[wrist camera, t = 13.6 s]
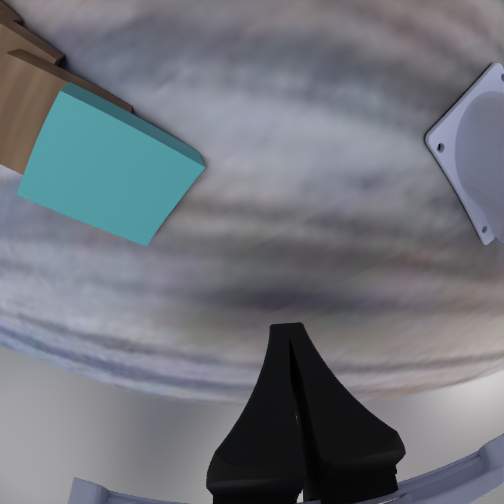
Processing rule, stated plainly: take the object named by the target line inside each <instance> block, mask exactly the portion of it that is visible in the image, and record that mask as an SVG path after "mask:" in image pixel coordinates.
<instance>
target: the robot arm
mask: <svg viewBox="0 0 504 504" xmlns="http://www.w3.org/2000/svg"><path fill="white" fill-rule="evenodd" d="M501 75H502V79H501ZM425 139H426V144H427V146H428V147H429V149H430V150H431V152H432V153H433V155H434V156H435V158H436V159H437V161H438V163H439V164H440V166H441V167H442V169H443V171H444V172H445V174H446V176H447V177H448V179H449V181H450V182H451V184H452V186H453V187H454V189H455V191H456V193H457V194H458V196H459V198H460V200H461V202H462V204H463V205H464V207H465V209H466V211H467V213H468V215H469V217H470V219H471V221H472V223H473V225H474V227H475V229H476V231H477V233H478V235H479V238H480V240H481V242H482V243H483V244H484V245H488V244H489V243H490V242H491V241H492V240H493V239H494V238H495V237H496V238H497V239H498V240H499V241H500V242H501V243H502V244H504V68H503V66H502V65H501V64H500V63H492V65H491V66H490V67H489V68H488V69H487V70H486V71H485V72H484V73H483V75H482V76H481V77H480V78H479V79H478V80H477V81H476V82H475V83H474V84H473V86H472V87H471V88H470V89H469V90H468V91H467V92H466V93H465V94H464V95H463V96H462V97H461V98H460V100H459V101H458V102H457V103H456V104H455V105H454V106H453V107H452V108H451V109H450V110H449V111H448V112H447V113H446V114H445V115H444V116H443V117H442V118H441V120H440V121H439V122H438V123H437V124H436V125H435V126H434V127H433V128H432V129H431V130H430V131H429V132H428V133H427V135H426V138H425ZM438 144H440V145H441V148H440V150H437V146H438ZM295 411H296V412H295ZM296 416H297V418H296ZM405 454H406V452H405V447H404V444H403V442H402V440H401V438H400V436H399V434H398V432H397V431H395V430H394V429H392V428H391V427H389V426H388V425H387V424H385V423H384V422H382V421H381V420H380V419H378V418H377V417H376V416H375V415H373V414H372V413H371V412H369V410H367V409H366V408H365V407H364V406H363V405H362V404H361V403H360V402H359V401H357V400H356V399H355V398H354V397H353V396H352V395H351V394H350V393H349V392H348V391H347V389H346V388H345V387H344V386H343V385H342V384H341V383H340V382H339V380H338V379H337V378H336V377H335V375H334V374H333V373H332V372H331V370H330V369H329V368H328V366H327V365H326V363H325V362H324V361H323V359H322V358H321V356H320V354H319V353H318V351H317V350H316V348H315V347H314V345H313V343H312V341H311V340H310V338H309V336H308V334H307V332H306V330H305V328H304V325H303V324H302V323H301V322H298V323H285V324H272V325H271V326H270V335H269V343H268V348H267V352H266V356H265V360H264V363H263V367H262V369H261V372H260V375H259V378H258V381H257V383H256V386H255V388H254V390H253V392H252V395H251V397H250V399H249V401H248V403H247V405H246V406H245V408H244V410H243V412H242V414H241V416H240V417H239V419H238V420H237V422H236V423H235V425H234V427H233V428H232V430H231V431H230V433H229V434H228V435H227V437H226V438H225V439H224V441H223V442H222V443H221V445H220V446H219V447H218V449H217V450H216V451H215V453H214V455H213V458H212V460H211V462H210V465H209V468H208V471H207V479H206V487H207V489H208V490H209V491H210V492H211V493H212V495H213V504H379V503H383V502H386V501H389V500H392V501H389V502H387V503H384V504H471V503H473V502H475V501H477V500H479V499H480V498H482V497H484V496H485V495H487V494H489V493H491V492H492V491H494V490H495V489H497V488H499V487H500V486H502V485H503V484H504V434H502V435H500V436H498V437H497V438H495V439H493V440H491V441H489V442H488V443H486V444H485V445H483V446H482V447H481V448H480V449H479V450H478V451H476V452H474V453H472V454H470V455H468V456H466V457H464V458H462V459H460V460H457V461H455V462H453V463H450V464H448V465H446V466H443V467H441V468H438V469H436V470H433V471H431V472H428V473H425V474H422V475H419V476H417V477H414V478H411V479H408V480H404V481H401V482H398V483H397V480H396V476H395V474H397V469H396V464H397V463H398V462H399V461H400V460H401V459H402V458H403V457H404V455H405ZM302 489H303V502H301V503H297V499H298V496H299V493H301V491H302ZM399 497H400V498H399ZM396 498H397V499H396ZM393 499H395V500H393ZM68 504H187V503H177V502H169V501H161V500H155V499H149V498H143V497H137V496H132V495H127V494H123V493H118V492H114V491H109V490H107V489H106V488H105V487H103V486H101V485H99V484H96V483H93V482H89V481H85V480H82V479H79V478H74V479H73V483H72V488H71V492H70V497H69V501H68Z"/></svg>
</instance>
